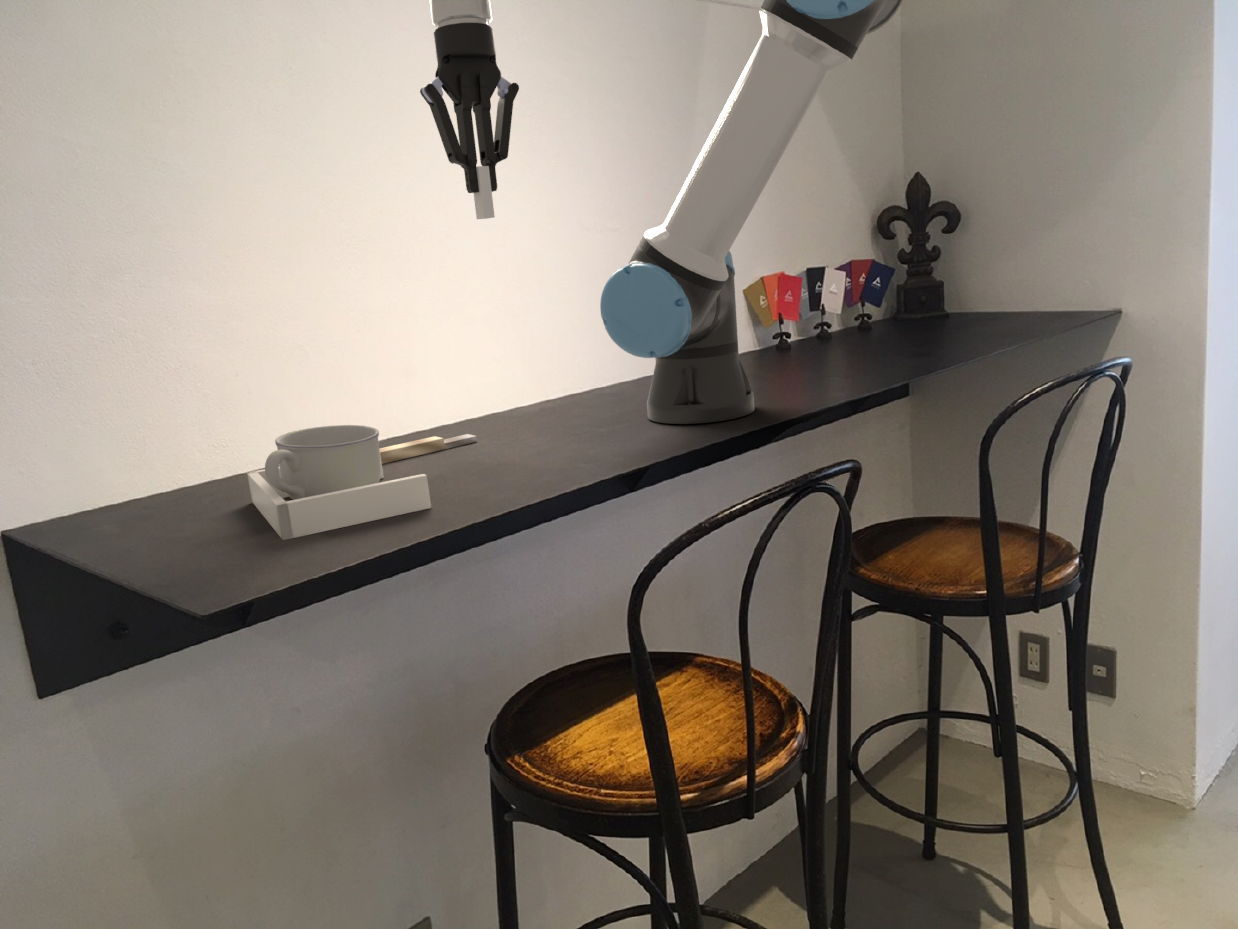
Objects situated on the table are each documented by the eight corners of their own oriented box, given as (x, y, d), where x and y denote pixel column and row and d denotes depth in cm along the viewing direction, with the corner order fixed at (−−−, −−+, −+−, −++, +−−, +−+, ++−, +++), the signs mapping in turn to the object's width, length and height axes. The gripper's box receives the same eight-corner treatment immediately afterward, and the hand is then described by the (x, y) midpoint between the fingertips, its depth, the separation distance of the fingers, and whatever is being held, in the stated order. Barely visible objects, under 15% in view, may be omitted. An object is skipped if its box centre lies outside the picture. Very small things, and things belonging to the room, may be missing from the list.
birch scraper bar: (467, 439, 135) (466, 429, 134) (477, 441, 133) (475, 430, 132) (308, 476, 121) (306, 464, 121) (315, 479, 119) (313, 467, 119)
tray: (381, 476, 117) (377, 448, 116) (431, 507, 101) (426, 475, 100) (252, 502, 110) (246, 472, 110) (283, 540, 94) (276, 505, 93)
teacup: (349, 486, 114) (338, 419, 112) (408, 495, 107) (398, 424, 105) (240, 519, 103) (227, 446, 102) (299, 531, 97) (285, 453, 95)
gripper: (499, 33, 129) (519, 216, 134) (404, 32, 123) (429, 223, 128) (521, 20, 122) (542, 212, 128) (422, 18, 116) (448, 220, 122)
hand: (485, 218), depth 128 cm, fingers closed
